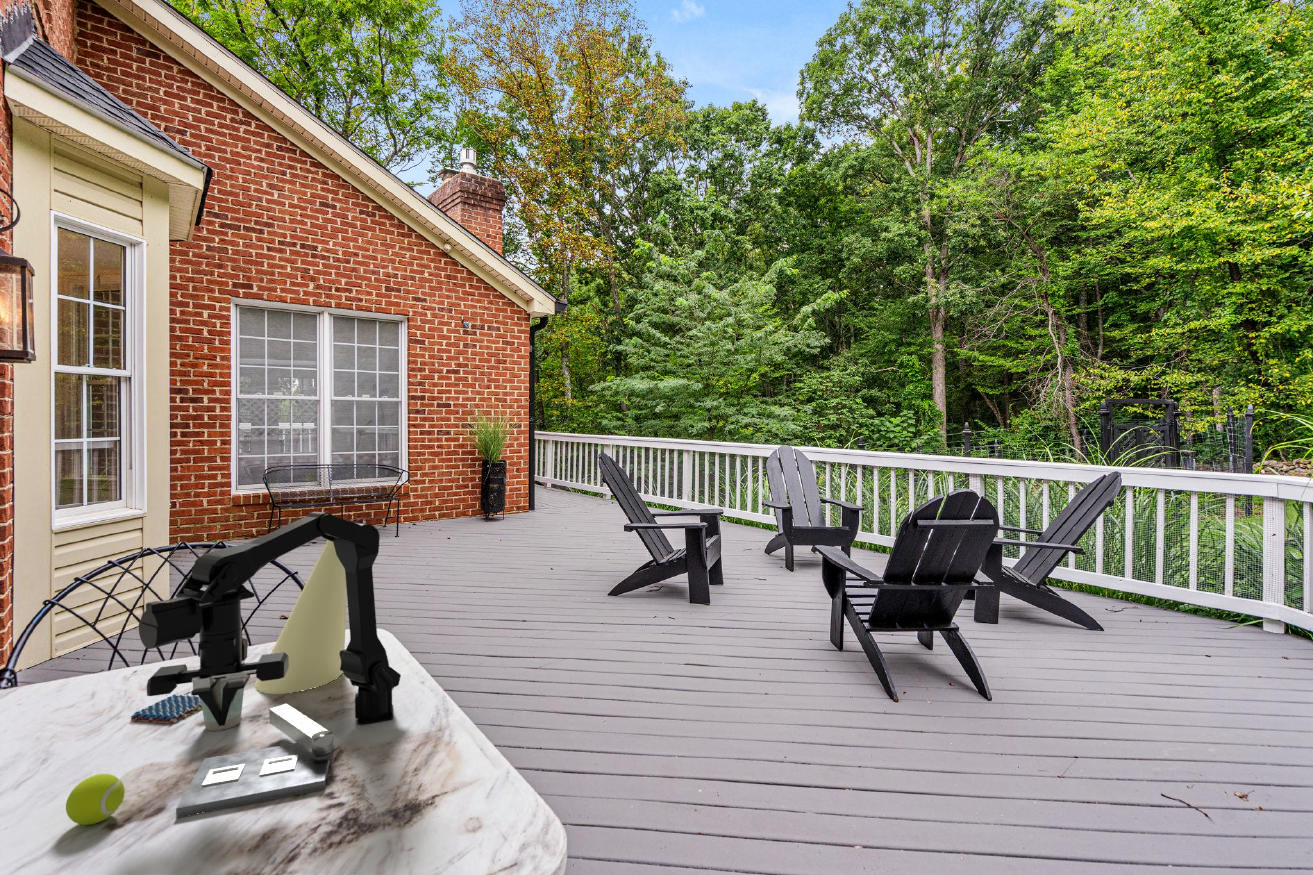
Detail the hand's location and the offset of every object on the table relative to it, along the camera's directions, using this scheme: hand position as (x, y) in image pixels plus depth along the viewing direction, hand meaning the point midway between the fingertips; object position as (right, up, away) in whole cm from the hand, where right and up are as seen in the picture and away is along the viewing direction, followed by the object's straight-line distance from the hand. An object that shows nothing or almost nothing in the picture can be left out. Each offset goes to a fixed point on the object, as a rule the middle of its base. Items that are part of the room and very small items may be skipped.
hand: (222, 724), depth 107 cm
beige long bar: (+7, -7, +11) cm, 15 cm away
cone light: (-9, -9, +45) cm, 47 cm away
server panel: (+5, -10, +2) cm, 11 cm away
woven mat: (-29, -11, +28) cm, 42 cm away
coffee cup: (-15, -10, +22) cm, 28 cm away
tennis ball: (-13, -11, -9) cm, 19 cm away
